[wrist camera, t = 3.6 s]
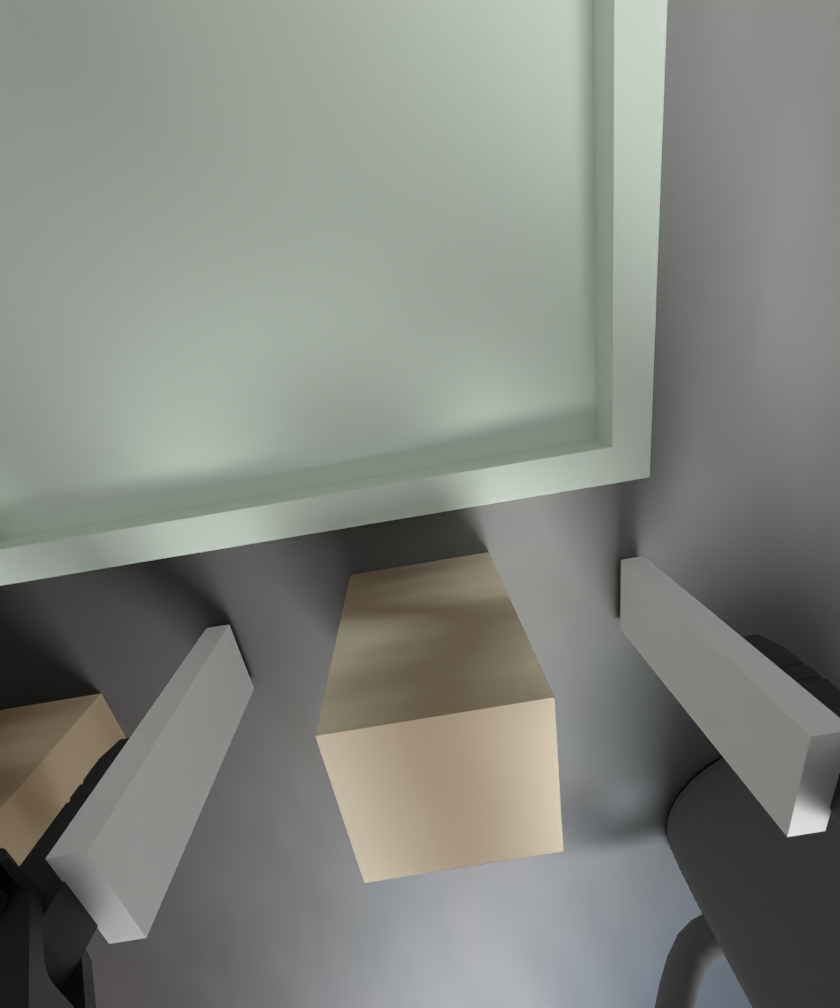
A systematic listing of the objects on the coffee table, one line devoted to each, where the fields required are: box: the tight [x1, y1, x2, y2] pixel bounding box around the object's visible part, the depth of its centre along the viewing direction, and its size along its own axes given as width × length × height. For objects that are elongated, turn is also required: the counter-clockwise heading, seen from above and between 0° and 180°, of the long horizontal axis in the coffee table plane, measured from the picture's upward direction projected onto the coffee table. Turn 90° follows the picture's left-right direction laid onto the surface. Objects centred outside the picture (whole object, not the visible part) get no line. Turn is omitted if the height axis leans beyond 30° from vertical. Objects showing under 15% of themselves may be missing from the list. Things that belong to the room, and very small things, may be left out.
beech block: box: [316, 552, 563, 883], centre depth 11 cm, size 4×4×6 cm
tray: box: [0, 0, 667, 586], centre depth 8 cm, size 19×21×2 cm
